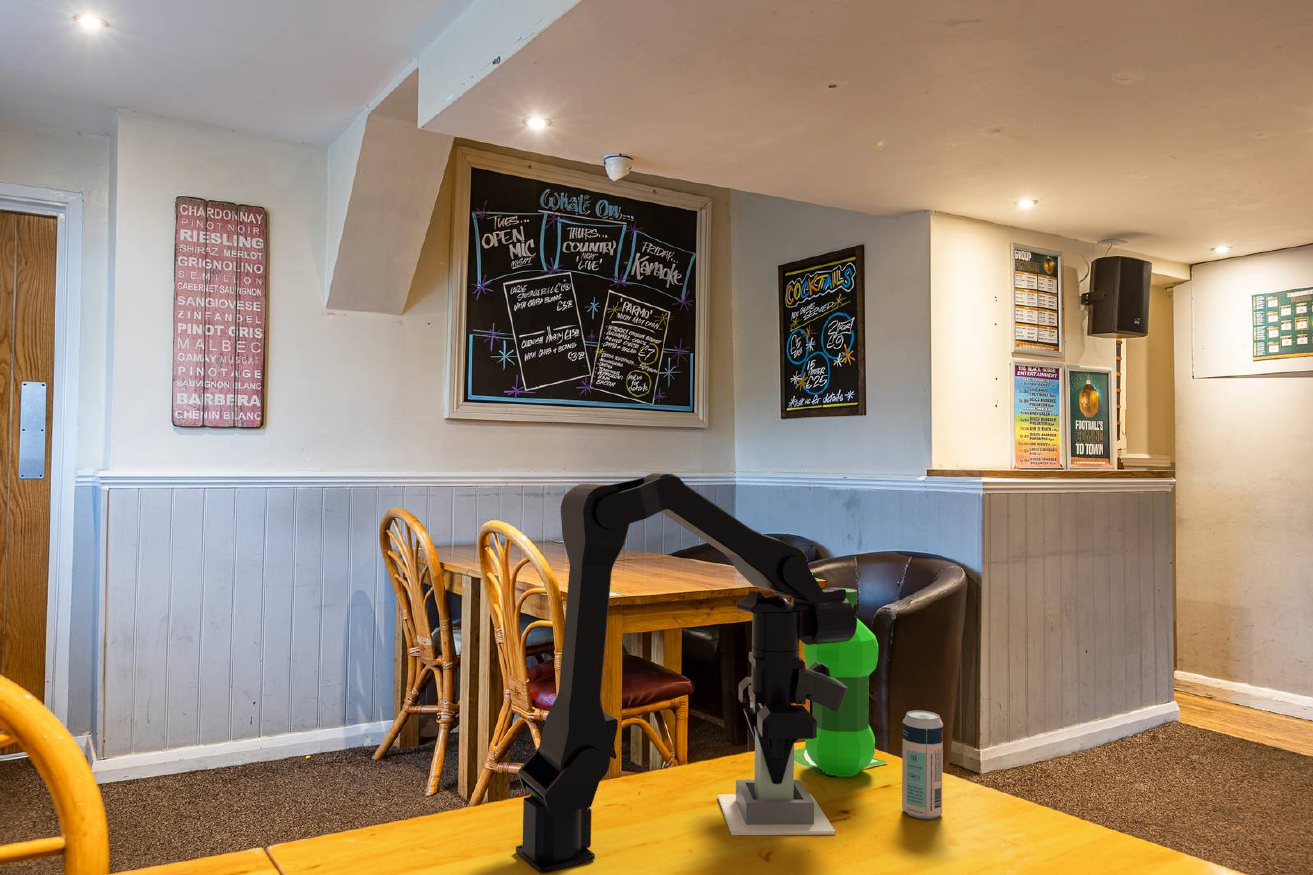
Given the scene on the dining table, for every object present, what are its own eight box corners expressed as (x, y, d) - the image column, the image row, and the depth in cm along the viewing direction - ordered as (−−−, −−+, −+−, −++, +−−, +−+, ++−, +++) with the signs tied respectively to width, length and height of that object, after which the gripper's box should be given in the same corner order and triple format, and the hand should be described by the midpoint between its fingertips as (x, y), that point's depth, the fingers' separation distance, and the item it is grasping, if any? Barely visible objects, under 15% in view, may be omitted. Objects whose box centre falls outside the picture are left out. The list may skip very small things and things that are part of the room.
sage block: (793, 804, 110) (794, 736, 111) (760, 804, 110) (760, 736, 110) (786, 792, 114) (787, 727, 115) (754, 793, 114) (755, 727, 114)
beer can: (938, 807, 116) (938, 710, 116) (946, 822, 111) (947, 720, 111) (898, 805, 116) (899, 708, 117) (905, 820, 111) (906, 719, 112)
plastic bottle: (787, 768, 130) (789, 588, 131) (835, 754, 137) (837, 583, 137) (844, 788, 122) (846, 597, 123) (892, 772, 129) (894, 591, 130)
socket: (835, 834, 107) (835, 808, 107) (731, 835, 106) (731, 809, 106) (811, 797, 119) (811, 774, 119) (717, 797, 118) (718, 774, 118)
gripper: (862, 664, 104) (861, 805, 104) (822, 634, 123) (821, 753, 122) (764, 663, 103) (761, 806, 103) (738, 633, 122) (736, 753, 121)
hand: (773, 777), depth 112 cm, fingers closed on sage block, 4 cm apart
